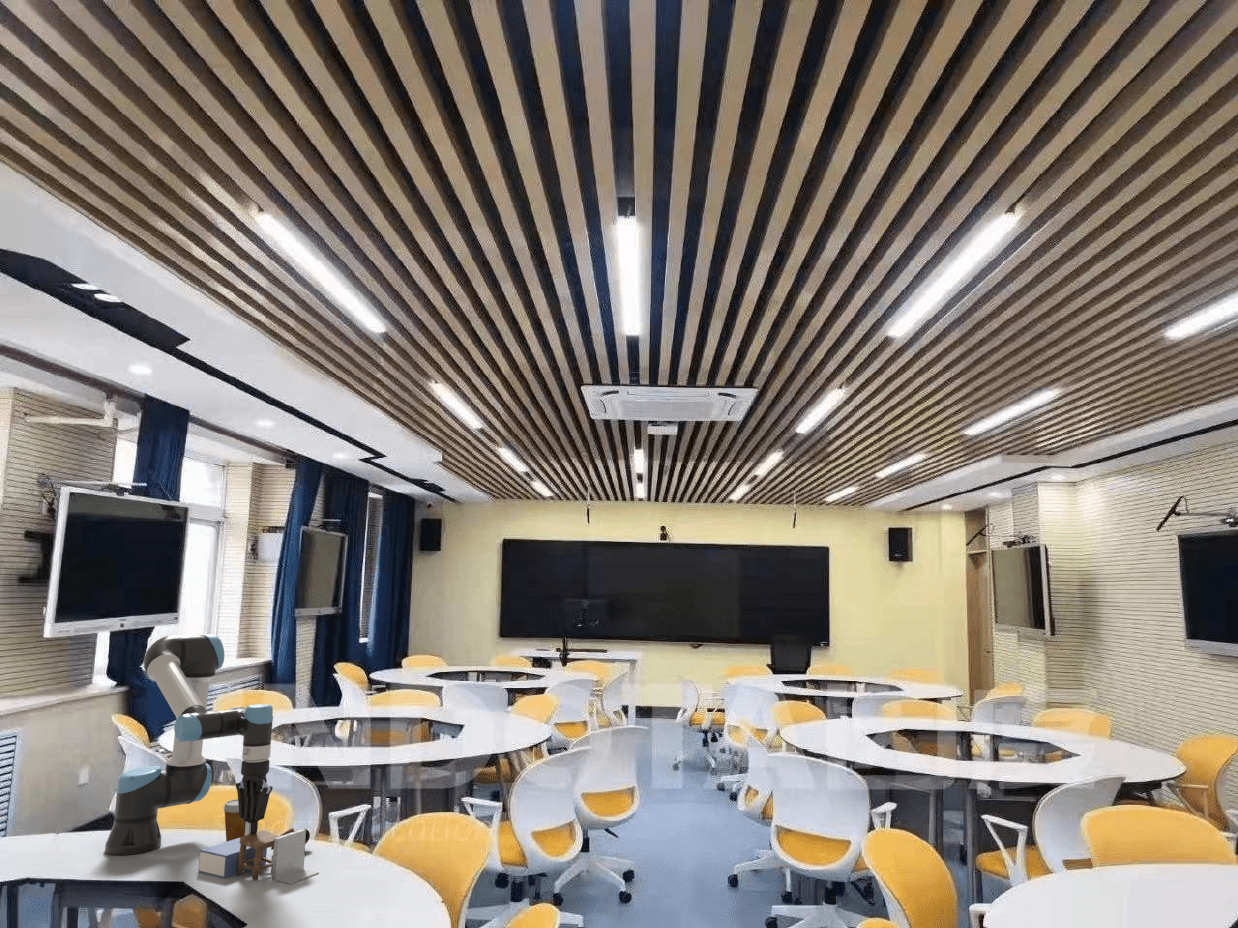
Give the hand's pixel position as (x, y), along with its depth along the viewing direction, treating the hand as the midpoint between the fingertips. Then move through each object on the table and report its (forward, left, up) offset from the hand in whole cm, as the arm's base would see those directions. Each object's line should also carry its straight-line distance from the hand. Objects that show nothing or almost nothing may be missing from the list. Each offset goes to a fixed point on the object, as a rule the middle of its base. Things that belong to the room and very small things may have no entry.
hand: (249, 844), depth 241 cm
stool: (0, 0, -2) cm, 2 cm away
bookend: (+15, +4, -7) cm, 17 cm away
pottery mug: (-2, +18, -8) cm, 20 cm away
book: (-6, 0, -7) cm, 10 cm away
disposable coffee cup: (-27, +18, -7) cm, 33 cm away
